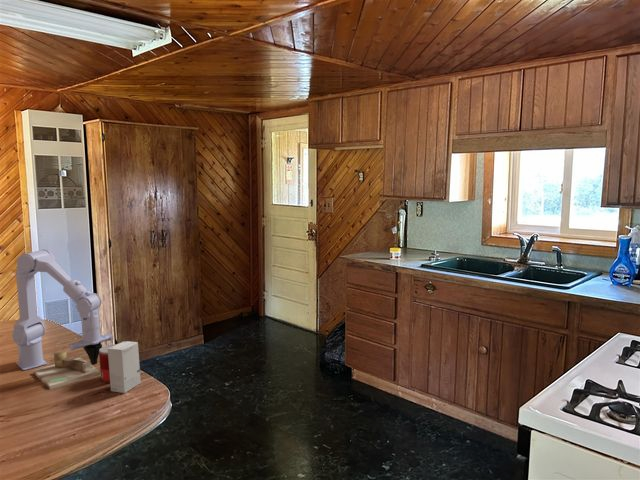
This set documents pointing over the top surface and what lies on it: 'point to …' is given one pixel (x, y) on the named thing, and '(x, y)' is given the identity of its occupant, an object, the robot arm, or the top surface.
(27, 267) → the robot arm
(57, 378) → the green tile
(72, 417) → the top surface
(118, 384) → the skincare box
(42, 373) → the board
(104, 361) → the canned food
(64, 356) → the friction peg
